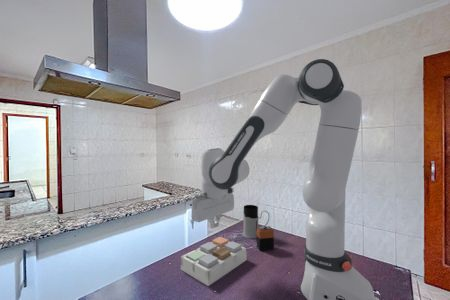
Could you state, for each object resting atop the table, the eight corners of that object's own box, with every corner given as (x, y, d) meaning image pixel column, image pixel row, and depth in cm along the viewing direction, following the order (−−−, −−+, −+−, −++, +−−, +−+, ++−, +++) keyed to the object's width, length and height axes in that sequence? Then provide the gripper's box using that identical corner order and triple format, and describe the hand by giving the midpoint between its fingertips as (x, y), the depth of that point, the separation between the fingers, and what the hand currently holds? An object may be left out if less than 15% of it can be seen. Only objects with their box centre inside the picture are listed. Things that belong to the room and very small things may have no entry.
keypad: (246, 260, 89) (246, 244, 89) (208, 286, 72) (208, 267, 72) (219, 248, 99) (219, 234, 99) (180, 269, 82) (180, 252, 82)
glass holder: (245, 230, 120) (245, 203, 120) (271, 234, 114) (271, 206, 114) (240, 236, 112) (240, 208, 112) (267, 241, 106) (267, 211, 106)
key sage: (204, 262, 83) (204, 254, 83) (194, 267, 79) (194, 259, 79) (196, 257, 86) (196, 250, 86) (186, 263, 82) (186, 255, 82)
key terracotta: (228, 246, 93) (228, 239, 93) (220, 250, 90) (220, 243, 90) (219, 243, 97) (219, 236, 97) (212, 247, 93) (212, 240, 93)
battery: (256, 246, 101) (256, 225, 100) (270, 245, 102) (270, 224, 102) (259, 251, 96) (259, 229, 96) (274, 249, 98) (274, 228, 97)
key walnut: (230, 258, 84) (230, 250, 83) (221, 263, 80) (221, 255, 80) (220, 254, 87) (220, 246, 87) (212, 259, 83) (212, 251, 83)
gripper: (198, 197, 73) (200, 238, 73) (236, 187, 88) (237, 221, 88) (186, 194, 77) (188, 233, 77) (224, 186, 92) (225, 218, 92)
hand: (214, 227), depth 83 cm, fingers closed
